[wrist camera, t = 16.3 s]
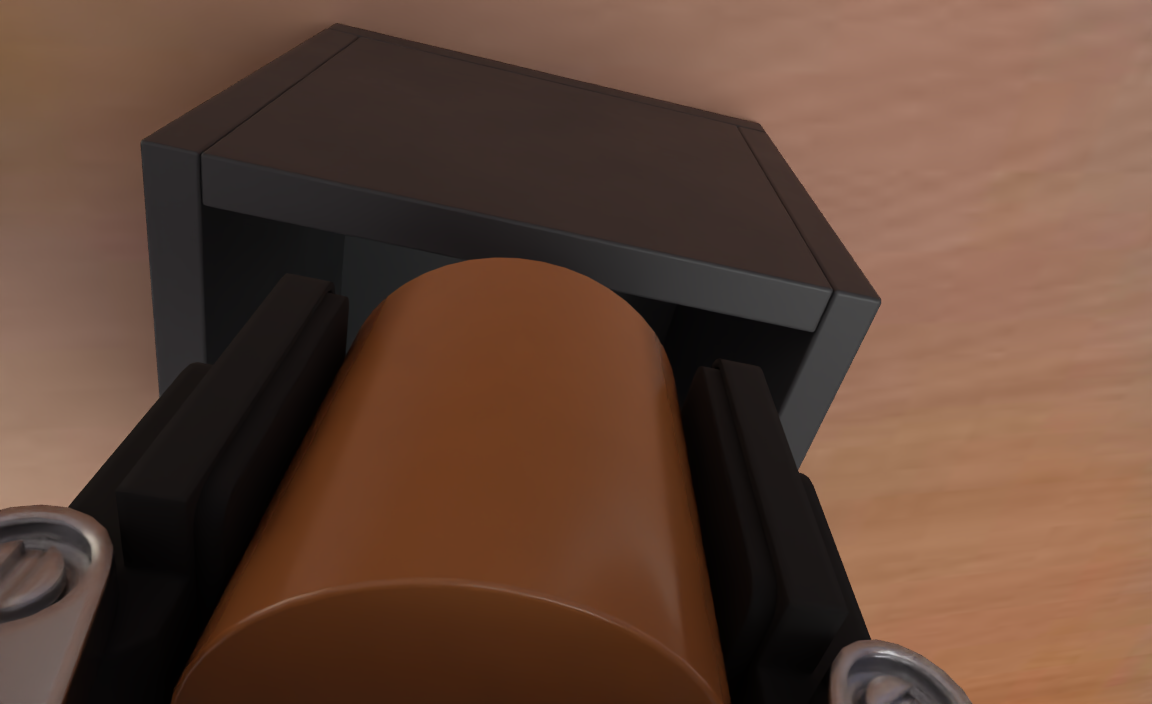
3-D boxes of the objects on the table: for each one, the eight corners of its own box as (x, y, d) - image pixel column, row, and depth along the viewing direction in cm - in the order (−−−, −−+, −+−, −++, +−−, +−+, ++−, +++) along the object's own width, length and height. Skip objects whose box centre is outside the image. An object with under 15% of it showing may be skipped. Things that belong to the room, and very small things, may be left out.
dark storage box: (334, 22, 21) (138, 140, 12) (761, 123, 22) (884, 300, 13) (310, 457, 29) (183, 728, 20) (623, 512, 31) (640, 790, 21)
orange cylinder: (356, 221, 9) (142, 531, 5) (719, 296, 9) (830, 642, 5) (335, 500, 11) (178, 882, 7) (629, 550, 12) (653, 938, 7)
